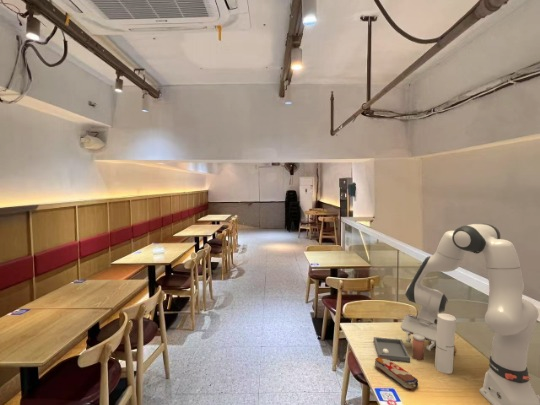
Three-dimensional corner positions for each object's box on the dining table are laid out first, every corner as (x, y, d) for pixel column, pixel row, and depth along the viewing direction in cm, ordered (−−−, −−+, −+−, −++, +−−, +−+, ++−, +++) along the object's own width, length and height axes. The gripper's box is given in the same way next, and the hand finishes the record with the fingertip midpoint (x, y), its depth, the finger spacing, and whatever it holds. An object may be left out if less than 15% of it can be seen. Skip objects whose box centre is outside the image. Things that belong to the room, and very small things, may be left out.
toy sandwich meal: (452, 343, 158) (453, 335, 158) (459, 358, 146) (459, 349, 145) (426, 339, 163) (427, 330, 162) (430, 352, 150) (431, 344, 150)
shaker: (425, 361, 143) (426, 339, 142) (413, 360, 144) (414, 338, 143) (421, 354, 148) (422, 333, 147) (410, 353, 149) (411, 332, 148)
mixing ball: (389, 356, 145) (389, 351, 145) (382, 356, 145) (383, 350, 145) (387, 353, 148) (388, 347, 148) (381, 352, 148) (381, 347, 148)
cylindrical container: (455, 374, 133) (458, 321, 131) (437, 372, 135) (440, 319, 132) (448, 364, 140) (452, 313, 138) (432, 362, 141) (435, 312, 139)
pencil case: (391, 361, 143) (392, 351, 142) (422, 390, 124) (422, 379, 123) (371, 365, 140) (372, 355, 139) (399, 395, 121) (400, 383, 120)
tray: (410, 362, 142) (410, 357, 141) (379, 359, 144) (379, 354, 144) (401, 344, 157) (401, 339, 157) (373, 341, 160) (373, 337, 159)
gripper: (404, 310, 156) (395, 334, 151) (447, 324, 141) (439, 352, 136) (407, 315, 160) (398, 339, 154) (450, 330, 145) (441, 357, 139)
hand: (417, 345), depth 145 cm, fingers open, 8 cm apart
